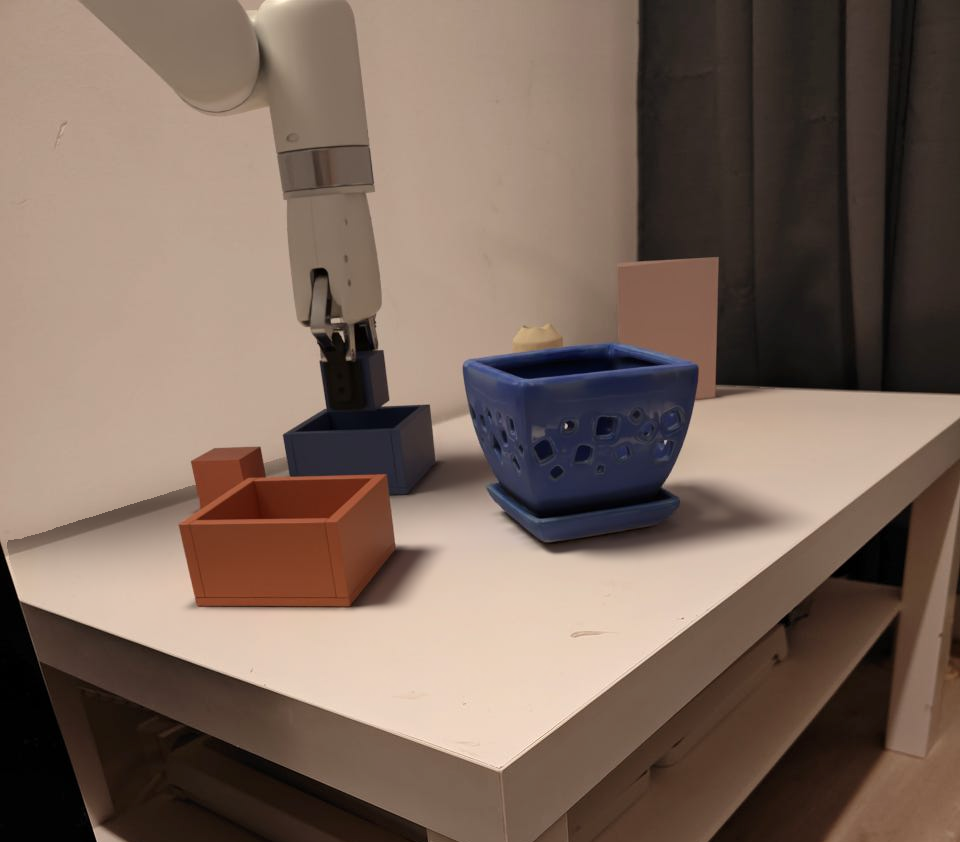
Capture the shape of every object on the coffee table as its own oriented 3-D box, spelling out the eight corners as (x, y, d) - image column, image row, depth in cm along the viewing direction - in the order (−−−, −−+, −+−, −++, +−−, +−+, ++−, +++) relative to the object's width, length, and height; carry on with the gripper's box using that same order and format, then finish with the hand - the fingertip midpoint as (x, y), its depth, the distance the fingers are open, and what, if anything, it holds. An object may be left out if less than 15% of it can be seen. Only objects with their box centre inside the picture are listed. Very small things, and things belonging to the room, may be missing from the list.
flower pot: (620, 485, 78) (618, 337, 73) (701, 529, 67) (705, 357, 62) (469, 511, 75) (456, 358, 70) (527, 561, 63) (516, 382, 58)
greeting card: (716, 395, 108) (720, 256, 102) (702, 409, 102) (705, 262, 96) (621, 395, 113) (619, 262, 107) (602, 408, 107) (599, 268, 101)
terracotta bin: (196, 606, 61) (177, 524, 59) (261, 550, 70) (247, 477, 68) (350, 606, 59) (337, 521, 56) (396, 549, 68) (386, 474, 66)
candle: (566, 410, 107) (562, 319, 103) (565, 421, 102) (561, 326, 98) (518, 413, 108) (512, 323, 104) (515, 424, 103) (509, 329, 99)
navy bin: (292, 496, 83) (282, 434, 81) (332, 465, 93) (324, 408, 90) (407, 494, 81) (399, 430, 79) (435, 462, 90) (430, 404, 88)
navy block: (326, 413, 82) (319, 360, 81) (343, 402, 86) (336, 352, 85) (375, 411, 81) (368, 358, 80) (389, 400, 85) (383, 349, 84)
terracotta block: (201, 511, 81) (190, 461, 79) (223, 496, 85) (213, 447, 83) (249, 511, 80) (239, 459, 78) (269, 495, 84) (260, 446, 82)
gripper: (319, 181, 84) (348, 386, 92) (240, 180, 69) (282, 425, 77) (399, 173, 83) (421, 383, 90) (336, 170, 68) (369, 422, 76)
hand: (357, 400), depth 84 cm, fingers closed on navy block, 4 cm apart
